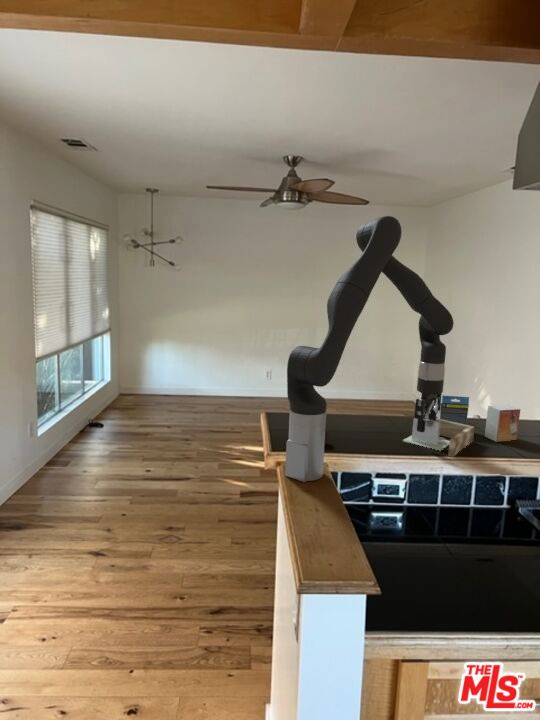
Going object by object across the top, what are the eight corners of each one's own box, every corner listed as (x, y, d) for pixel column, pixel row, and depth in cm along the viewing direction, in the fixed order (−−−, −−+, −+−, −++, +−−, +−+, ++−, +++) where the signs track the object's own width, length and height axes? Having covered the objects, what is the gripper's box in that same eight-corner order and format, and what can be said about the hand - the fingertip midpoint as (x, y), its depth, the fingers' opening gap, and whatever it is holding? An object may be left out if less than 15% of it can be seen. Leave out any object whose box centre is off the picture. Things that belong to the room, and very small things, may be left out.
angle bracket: (411, 440, 157) (413, 417, 156) (419, 435, 162) (421, 413, 161) (436, 446, 152) (438, 422, 151) (444, 441, 157) (446, 418, 156)
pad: (440, 451, 150) (440, 450, 150) (402, 441, 157) (402, 440, 157) (452, 442, 157) (452, 441, 157) (416, 433, 165) (416, 432, 165)
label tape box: (462, 428, 171) (466, 393, 169) (465, 432, 167) (469, 396, 165) (435, 427, 172) (439, 392, 170) (438, 431, 168) (442, 395, 166)
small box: (495, 442, 159) (499, 410, 157) (483, 436, 164) (487, 405, 162) (517, 440, 161) (521, 409, 159) (504, 435, 166) (508, 404, 164)
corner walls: (452, 457, 146) (454, 440, 145) (393, 441, 157) (395, 426, 156) (472, 441, 159) (474, 426, 158) (417, 428, 170) (418, 414, 169)
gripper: (428, 371, 159) (423, 420, 162) (409, 378, 148) (404, 431, 152) (452, 374, 155) (446, 425, 158) (433, 382, 144) (428, 437, 147)
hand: (426, 428), depth 155 cm, fingers open, 8 cm apart
